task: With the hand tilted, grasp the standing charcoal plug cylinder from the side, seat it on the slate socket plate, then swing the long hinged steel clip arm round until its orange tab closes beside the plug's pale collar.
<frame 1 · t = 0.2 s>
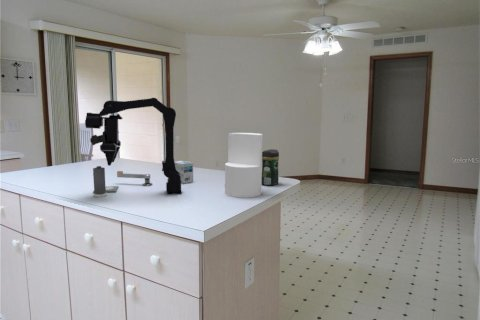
hand: (110, 163, 156), 14 cm above the worktop, tool pointing down, fingers open, 9 cm apart
light bulb box: (182, 181, 188), on the worktop
plug: (100, 195, 156), on the worktop
clip arm: (133, 174, 178), point 5 cm above the worktop, hinge at -45.0°
cylinder: (243, 193, 165), on the worktop
socket: (106, 190, 166), on the worktop
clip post: (147, 185, 178), on the worktop
coffee jar: (269, 184, 184), on the worktop
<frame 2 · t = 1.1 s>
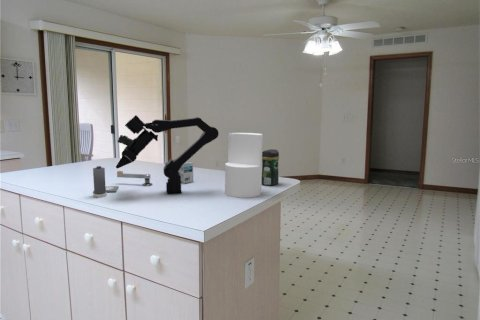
hand: (117, 166, 156), 13 cm above the worktop, tool tilted 45°, fingers open, 9 cm apart
nothing on the worktop moved.
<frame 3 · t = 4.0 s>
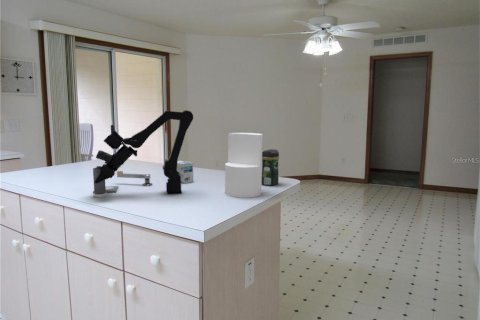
hand: (96, 181, 155), 7 cm above the worktop, tool tilted 45°, fingers closed on plug, 5 cm apart
plug: (100, 195, 156), on the worktop, touching gripper
everything else where it was.
when the fingers open (8 cm above the worktop, at t = 7.1 s): plug stays where it is, resting on socket.
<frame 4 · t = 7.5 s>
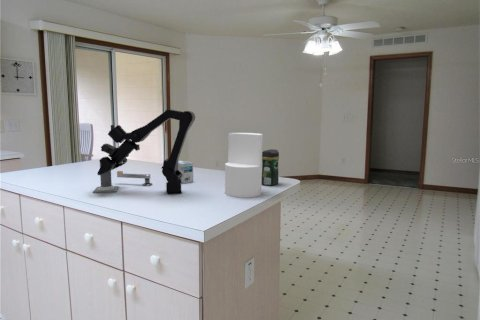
hand: (102, 172, 165), 9 cm above the worktop, tool tilted 45°, fingers open, 9 cm apart
plug: (106, 188, 166), point 1 cm above the worktop, touching socket
everything else where it was.
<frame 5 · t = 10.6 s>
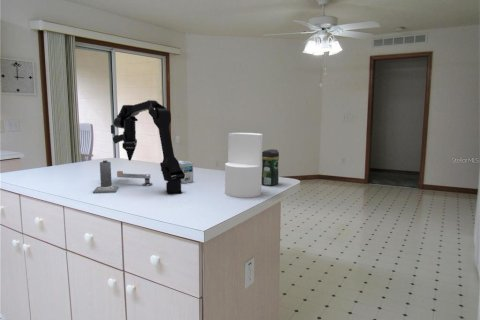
hand: (130, 158, 183), 13 cm above the worktop, tool pointing down, fingers open, 9 cm apart
nothing on the worktop moved.
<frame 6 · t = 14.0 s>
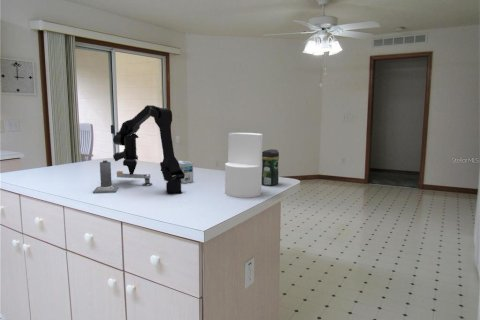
hand: (131, 176, 181), 4 cm above the worktop, tool pointing down, fingers closed
clip arm: (133, 174, 178), point 5 cm above the worktop, hinge at -43.9°, touching gripper
everything else where it was.
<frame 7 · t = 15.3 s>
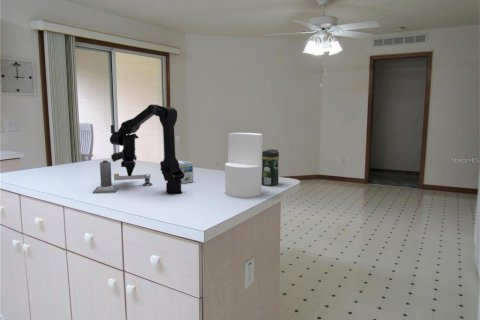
hand: (129, 177, 176), 4 cm above the worktop, tool pointing down, fingers closed
clip arm: (132, 176, 175), point 5 cm above the worktop, hinge at -16.3°, touching gripper
everything else where it was.
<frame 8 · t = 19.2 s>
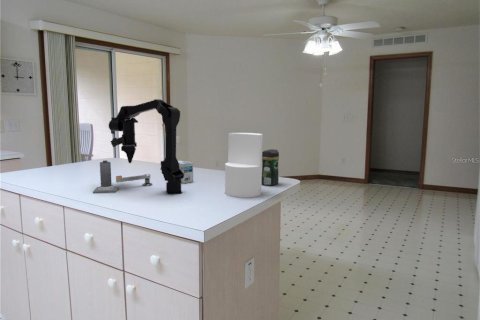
hand: (129, 163, 173), 12 cm above the worktop, tool pointing down, fingers closed
clip arm: (133, 177, 173), point 5 cm above the worktop, hinge at 5.0°
everything else where it was.
at the end: plug 0.1 cm from the socket (horizontally); plug tilted 0°; clip arm at +5° (first picture: -45°) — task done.
